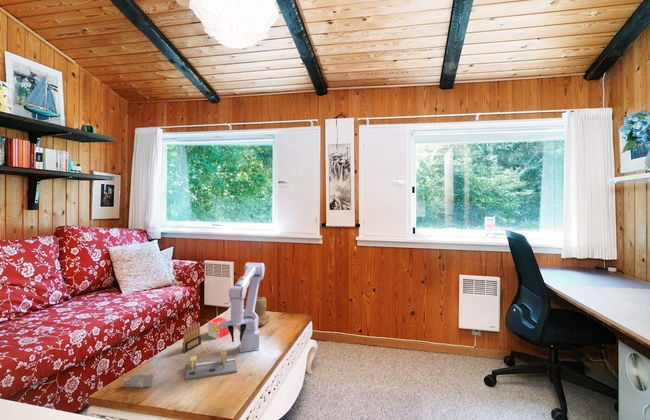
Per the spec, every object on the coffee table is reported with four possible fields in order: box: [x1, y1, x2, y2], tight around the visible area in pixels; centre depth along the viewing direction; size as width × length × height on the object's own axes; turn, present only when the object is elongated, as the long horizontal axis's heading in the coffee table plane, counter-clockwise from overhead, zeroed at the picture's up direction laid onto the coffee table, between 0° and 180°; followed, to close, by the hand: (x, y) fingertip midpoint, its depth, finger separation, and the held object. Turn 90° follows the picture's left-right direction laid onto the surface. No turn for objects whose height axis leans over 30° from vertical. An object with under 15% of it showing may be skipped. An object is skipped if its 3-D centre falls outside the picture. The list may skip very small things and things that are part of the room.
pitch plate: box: [185, 354, 238, 381], centre depth 144 cm, size 21×14×5 cm, turn 109°
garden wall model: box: [122, 371, 156, 388], centre depth 130 cm, size 12×2×6 cm, turn 91°
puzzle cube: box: [207, 316, 230, 340], centre depth 179 cm, size 8×8×8 cm
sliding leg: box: [220, 351, 227, 368], centre depth 146 cm, size 2×8×3 cm, turn 19°
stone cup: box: [254, 296, 271, 327], centre depth 198 cm, size 15×12×15 cm
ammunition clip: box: [181, 321, 202, 354], centre depth 163 cm, size 11×2×12 cm, turn 157°
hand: (236, 340), depth 149 cm, fingers open, 3 cm apart
